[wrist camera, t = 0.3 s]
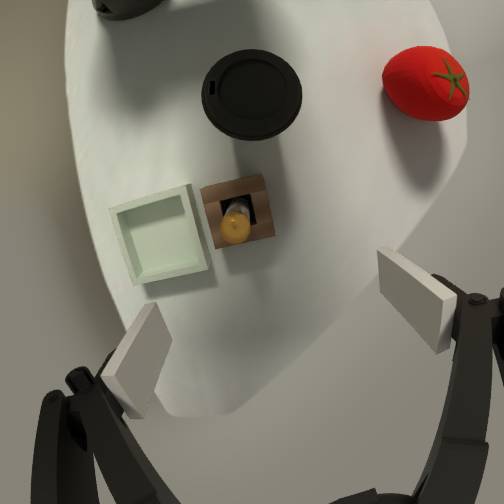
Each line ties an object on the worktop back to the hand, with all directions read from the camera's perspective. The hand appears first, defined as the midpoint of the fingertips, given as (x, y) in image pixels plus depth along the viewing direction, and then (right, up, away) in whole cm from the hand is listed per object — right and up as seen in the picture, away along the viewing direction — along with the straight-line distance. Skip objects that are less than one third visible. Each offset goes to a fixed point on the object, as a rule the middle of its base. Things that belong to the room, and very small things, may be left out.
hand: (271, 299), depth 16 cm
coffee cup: (-1, +22, +21) cm, 30 cm away
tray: (-14, +6, +26) cm, 30 cm away
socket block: (-3, +9, +25) cm, 27 cm away
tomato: (+24, +28, +20) cm, 42 cm away
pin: (-3, +9, +25) cm, 27 cm away
